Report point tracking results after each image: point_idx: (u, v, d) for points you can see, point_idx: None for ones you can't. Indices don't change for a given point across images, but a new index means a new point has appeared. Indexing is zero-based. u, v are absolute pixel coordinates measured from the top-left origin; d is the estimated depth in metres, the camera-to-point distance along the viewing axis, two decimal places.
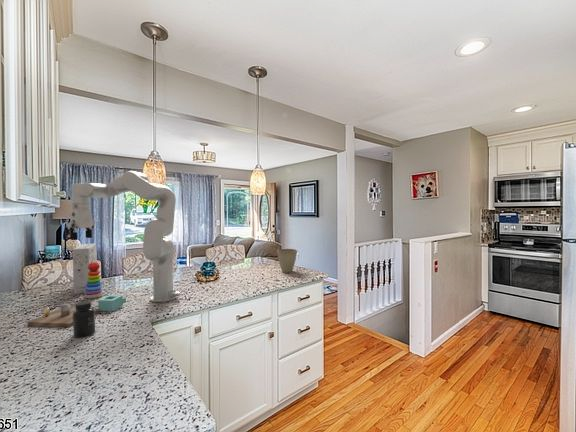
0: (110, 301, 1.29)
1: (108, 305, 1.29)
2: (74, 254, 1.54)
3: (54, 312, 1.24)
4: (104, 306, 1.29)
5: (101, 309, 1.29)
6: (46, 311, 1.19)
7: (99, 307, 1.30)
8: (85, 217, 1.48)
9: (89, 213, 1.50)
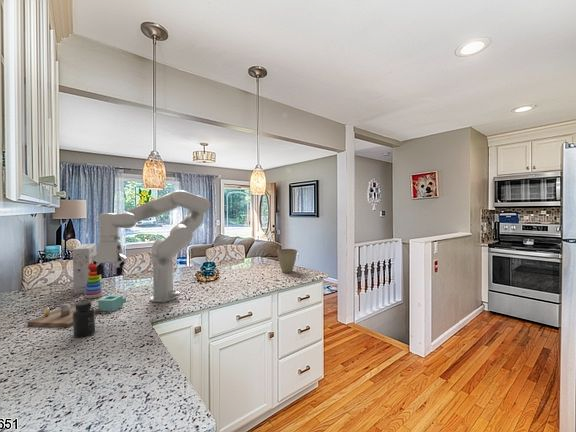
0: (110, 301, 1.29)
1: (108, 305, 1.29)
2: (74, 254, 1.54)
3: (54, 312, 1.24)
4: (104, 306, 1.29)
5: (101, 309, 1.29)
6: (46, 311, 1.19)
7: (99, 307, 1.30)
8: None
9: None
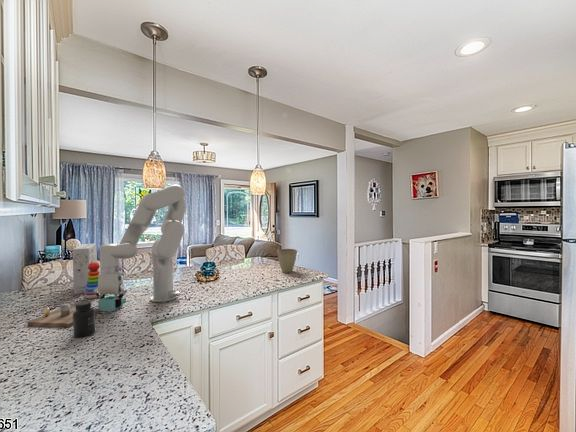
0: (110, 301, 1.29)
1: (108, 305, 1.29)
2: (74, 254, 1.54)
3: (54, 312, 1.24)
4: (104, 306, 1.29)
5: (101, 309, 1.29)
6: (46, 311, 1.19)
7: (99, 307, 1.30)
8: None
9: None
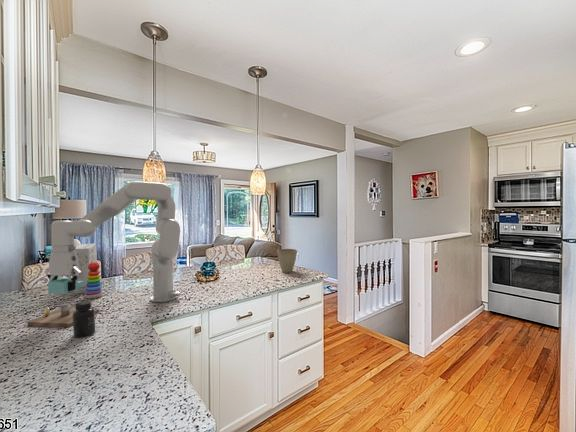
0: (61, 283, 1.16)
1: (59, 287, 1.16)
2: None
3: (54, 312, 1.24)
4: (54, 289, 1.16)
5: (51, 292, 1.17)
6: (46, 311, 1.19)
7: (49, 290, 1.17)
8: None
9: None
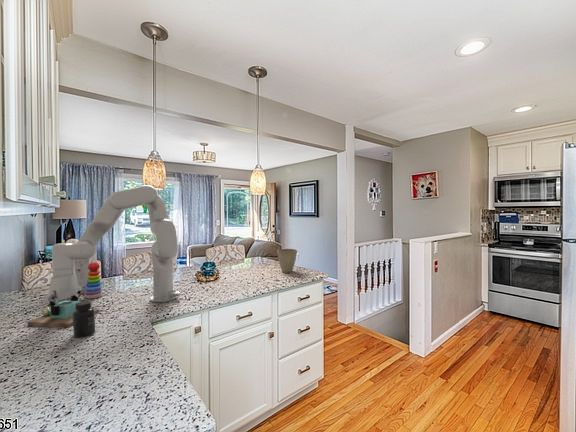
0: (77, 302, 1.23)
1: None
2: None
3: None
4: (72, 310, 1.20)
5: (69, 315, 1.19)
6: (46, 311, 1.19)
7: (67, 314, 1.18)
8: None
9: None
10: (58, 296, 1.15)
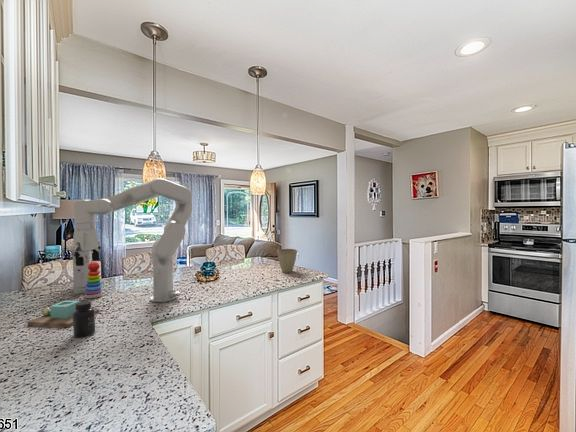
0: (77, 302, 1.23)
1: None
2: None
3: None
4: (72, 310, 1.20)
5: (69, 315, 1.19)
6: (46, 311, 1.19)
7: (67, 314, 1.18)
8: None
9: None
10: (82, 247, 1.24)
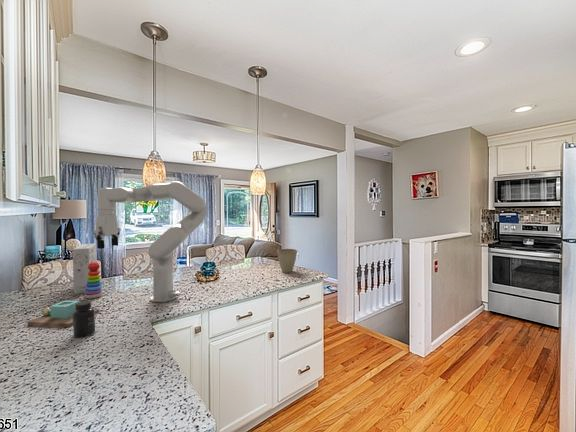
0: (77, 302, 1.23)
1: None
2: (74, 254, 1.54)
3: None
4: (72, 310, 1.20)
5: (69, 315, 1.19)
6: (46, 311, 1.19)
7: (67, 314, 1.18)
8: None
9: None
10: (103, 231, 1.34)
